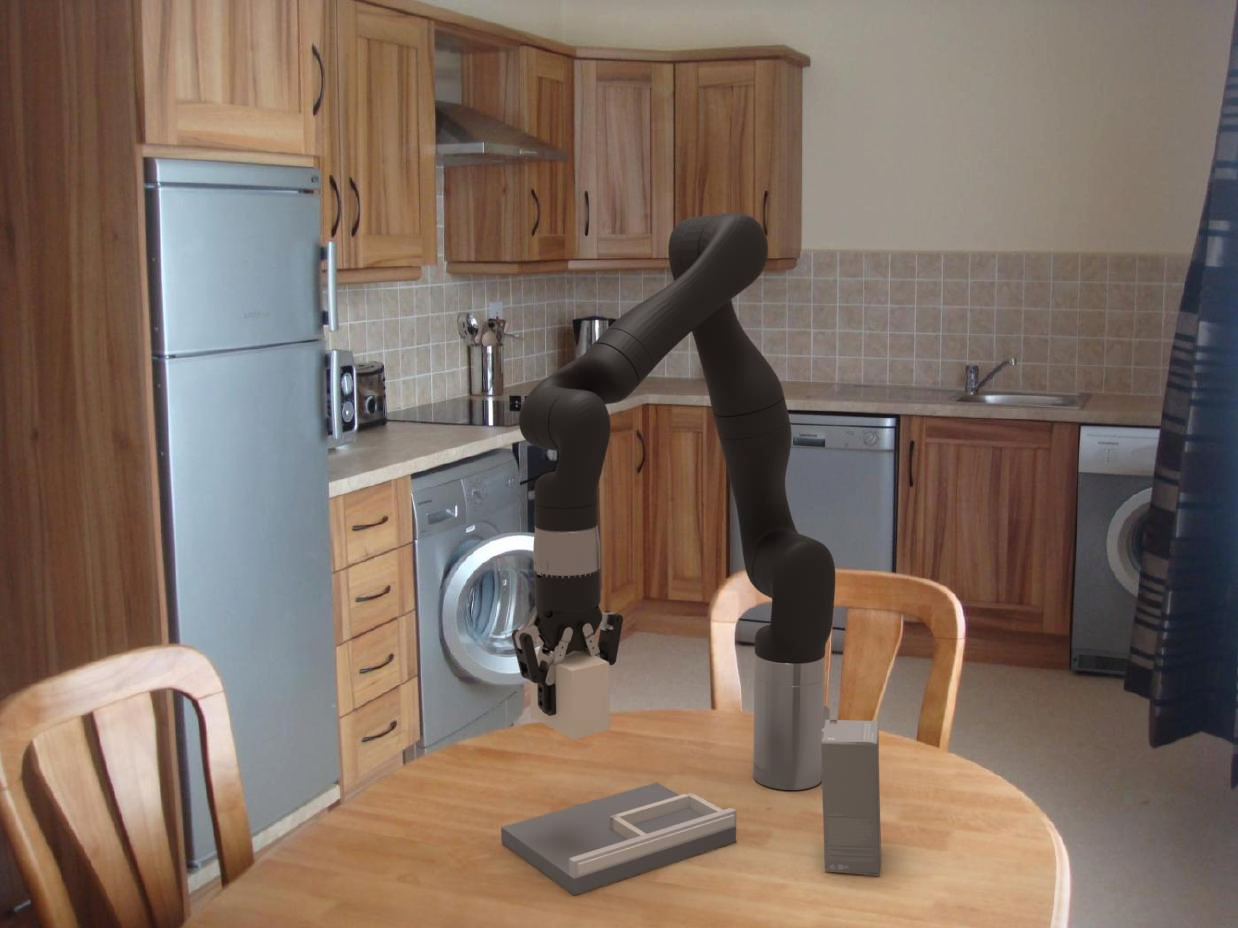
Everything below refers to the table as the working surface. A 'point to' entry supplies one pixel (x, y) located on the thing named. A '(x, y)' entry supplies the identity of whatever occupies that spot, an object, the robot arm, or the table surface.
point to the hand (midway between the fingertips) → (569, 707)
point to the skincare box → (851, 796)
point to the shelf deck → (620, 836)
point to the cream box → (577, 696)
